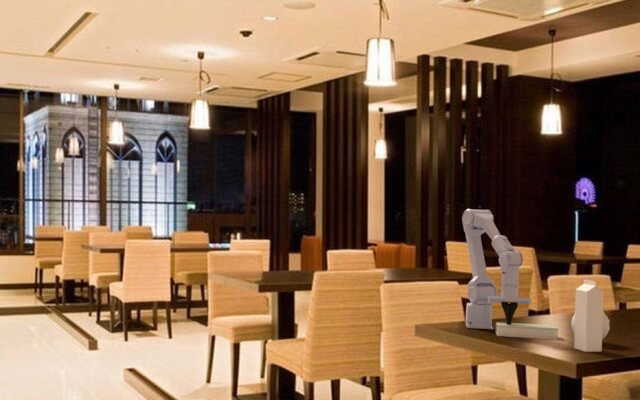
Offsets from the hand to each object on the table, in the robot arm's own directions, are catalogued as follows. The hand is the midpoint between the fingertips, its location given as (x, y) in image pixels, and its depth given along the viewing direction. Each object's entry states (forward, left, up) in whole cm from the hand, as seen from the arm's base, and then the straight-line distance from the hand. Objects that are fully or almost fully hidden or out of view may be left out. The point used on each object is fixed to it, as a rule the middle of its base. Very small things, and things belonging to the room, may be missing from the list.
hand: (508, 324), depth 253 cm
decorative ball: (+26, -6, -4) cm, 27 cm away
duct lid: (+6, 0, -1) cm, 6 cm away
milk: (+22, -21, -4) cm, 31 cm away
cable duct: (+6, 0, -4) cm, 7 cm away
